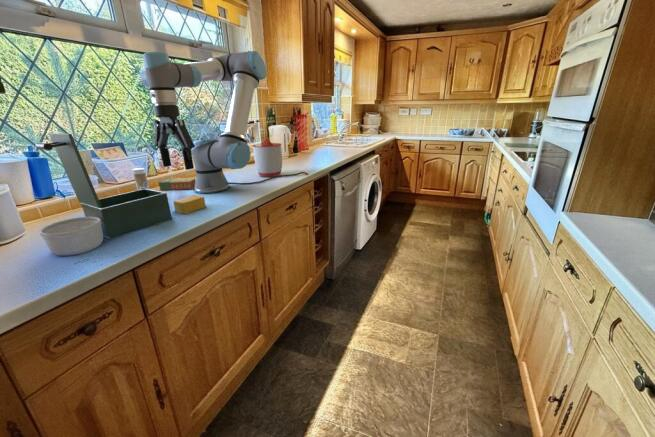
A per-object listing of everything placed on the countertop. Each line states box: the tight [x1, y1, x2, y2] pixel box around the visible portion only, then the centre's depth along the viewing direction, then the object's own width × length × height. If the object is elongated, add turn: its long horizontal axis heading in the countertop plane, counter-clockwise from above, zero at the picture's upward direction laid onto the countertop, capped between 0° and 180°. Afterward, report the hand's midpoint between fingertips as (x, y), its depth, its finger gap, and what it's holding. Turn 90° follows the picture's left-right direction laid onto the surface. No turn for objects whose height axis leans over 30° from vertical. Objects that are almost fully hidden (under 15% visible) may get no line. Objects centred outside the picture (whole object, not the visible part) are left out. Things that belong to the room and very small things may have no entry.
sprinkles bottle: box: [131, 167, 150, 191], centre depth 127 cm, size 5×5×13 cm
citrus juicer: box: [252, 138, 283, 178], centre depth 167 cm, size 16×17×20 cm
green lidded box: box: [80, 188, 173, 240], centre depth 99 cm, size 20×13×10 cm
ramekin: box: [39, 216, 104, 257], centre depth 83 cm, size 13×13×7 cm
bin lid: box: [35, 132, 101, 208], centre depth 83 cm, size 21×13×6 cm
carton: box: [158, 176, 196, 191], centre depth 148 cm, size 8×16×4 cm, turn 89°
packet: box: [172, 194, 207, 215], centre depth 114 cm, size 9×6×4 cm, turn 148°
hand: (178, 167), depth 108 cm, fingers open, 13 cm apart
